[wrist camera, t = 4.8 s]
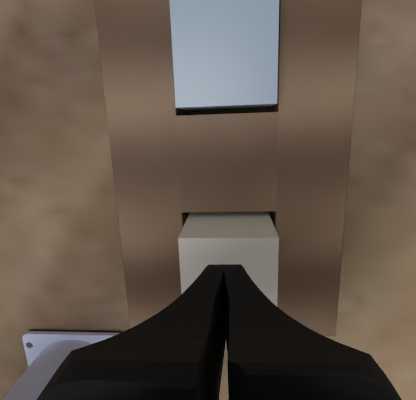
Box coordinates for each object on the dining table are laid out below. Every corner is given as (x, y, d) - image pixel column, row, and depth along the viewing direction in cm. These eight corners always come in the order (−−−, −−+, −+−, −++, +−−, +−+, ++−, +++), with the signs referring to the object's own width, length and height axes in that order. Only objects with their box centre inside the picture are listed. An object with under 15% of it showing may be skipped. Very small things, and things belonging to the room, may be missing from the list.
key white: (267, 282, 18) (276, 326, 14) (193, 282, 18) (183, 324, 15) (268, 211, 17) (278, 237, 13) (189, 212, 17) (177, 238, 14)
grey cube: (266, 107, 17) (277, 103, 13) (187, 110, 17) (175, 107, 13) (267, 19, 16) (279, -14, 12) (183, 24, 16) (169, -6, 12)
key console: (316, 297, 21) (335, 335, 18) (148, 295, 22) (131, 332, 18) (336, -33, 16) (368, -81, 13) (119, -17, 17) (87, -57, 14)
